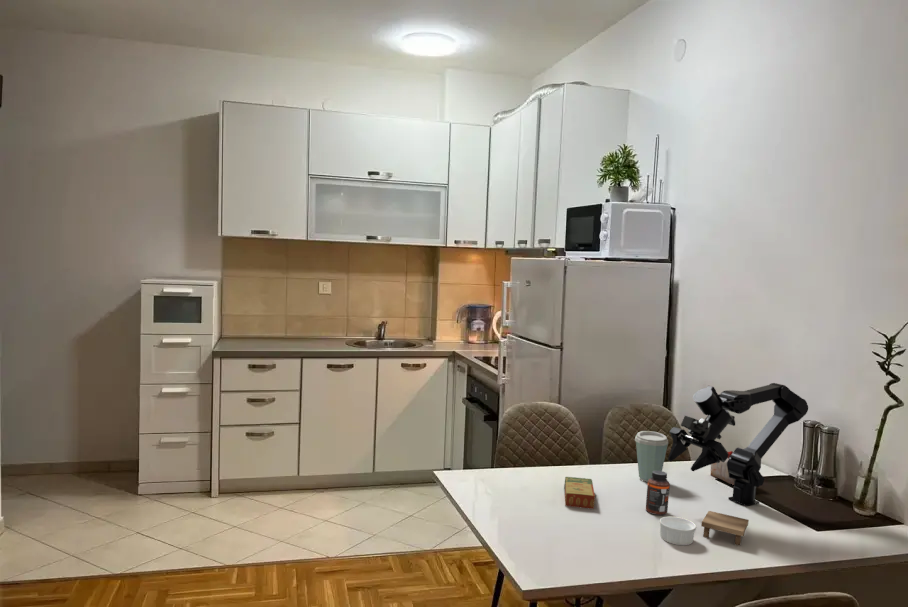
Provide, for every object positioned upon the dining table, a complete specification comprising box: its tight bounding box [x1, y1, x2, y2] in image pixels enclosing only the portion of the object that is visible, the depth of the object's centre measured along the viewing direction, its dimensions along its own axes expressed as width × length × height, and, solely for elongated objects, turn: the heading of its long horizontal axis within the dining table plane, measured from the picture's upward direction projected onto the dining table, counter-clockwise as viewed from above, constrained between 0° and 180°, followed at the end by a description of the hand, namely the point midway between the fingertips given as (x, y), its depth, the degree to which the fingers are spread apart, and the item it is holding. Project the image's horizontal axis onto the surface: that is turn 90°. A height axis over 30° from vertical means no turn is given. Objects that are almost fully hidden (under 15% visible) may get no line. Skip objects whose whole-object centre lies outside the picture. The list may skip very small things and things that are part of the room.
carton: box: [563, 476, 596, 510], centre depth 200 cm, size 8×16×4 cm, turn 172°
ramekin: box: [659, 516, 697, 546], centre depth 174 cm, size 9×9×4 cm
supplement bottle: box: [645, 470, 671, 516], centre depth 192 cm, size 6×6×11 cm
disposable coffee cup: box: [634, 430, 669, 483], centre depth 221 cm, size 11×11×15 cm
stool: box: [701, 510, 749, 546], centre depth 178 cm, size 10×10×4 cm
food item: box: [710, 450, 735, 486], centre depth 226 cm, size 14×8×10 cm, turn 18°
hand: (680, 465), depth 195 cm, fingers open, 9 cm apart
